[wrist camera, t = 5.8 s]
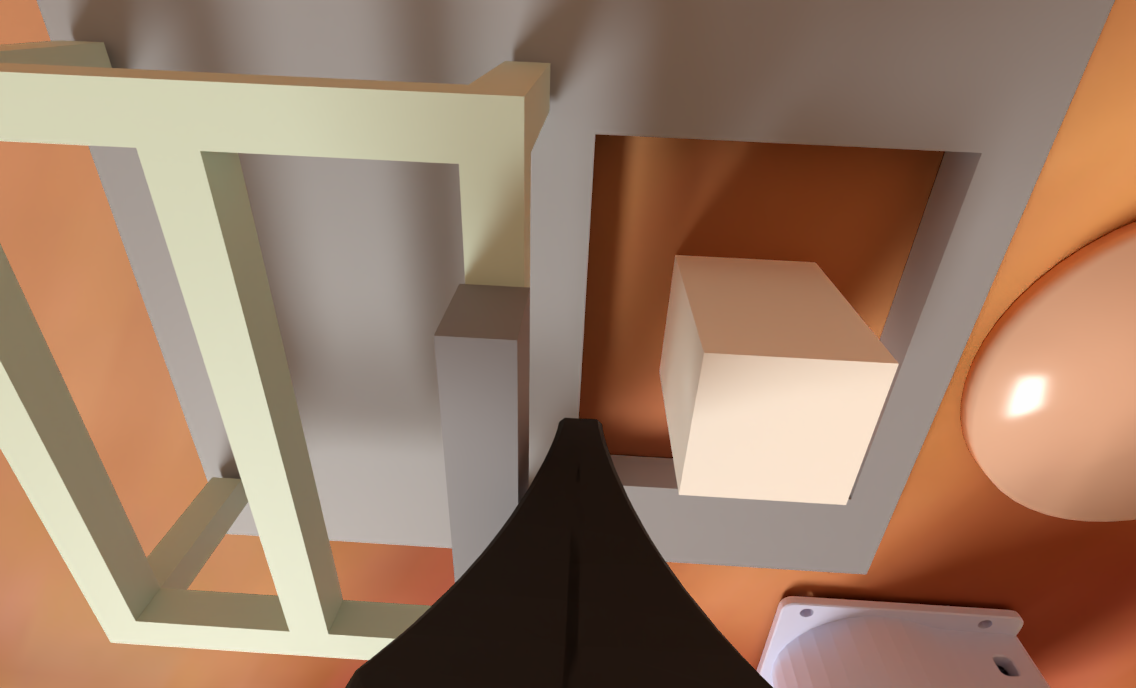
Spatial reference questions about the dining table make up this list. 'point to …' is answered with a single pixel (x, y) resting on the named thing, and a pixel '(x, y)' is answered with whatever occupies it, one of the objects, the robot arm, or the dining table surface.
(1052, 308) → the terracotta dish
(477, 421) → the cream slatted rack
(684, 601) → the robot arm
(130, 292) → the dining table surface
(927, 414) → the puzzle board
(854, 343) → the cream block
